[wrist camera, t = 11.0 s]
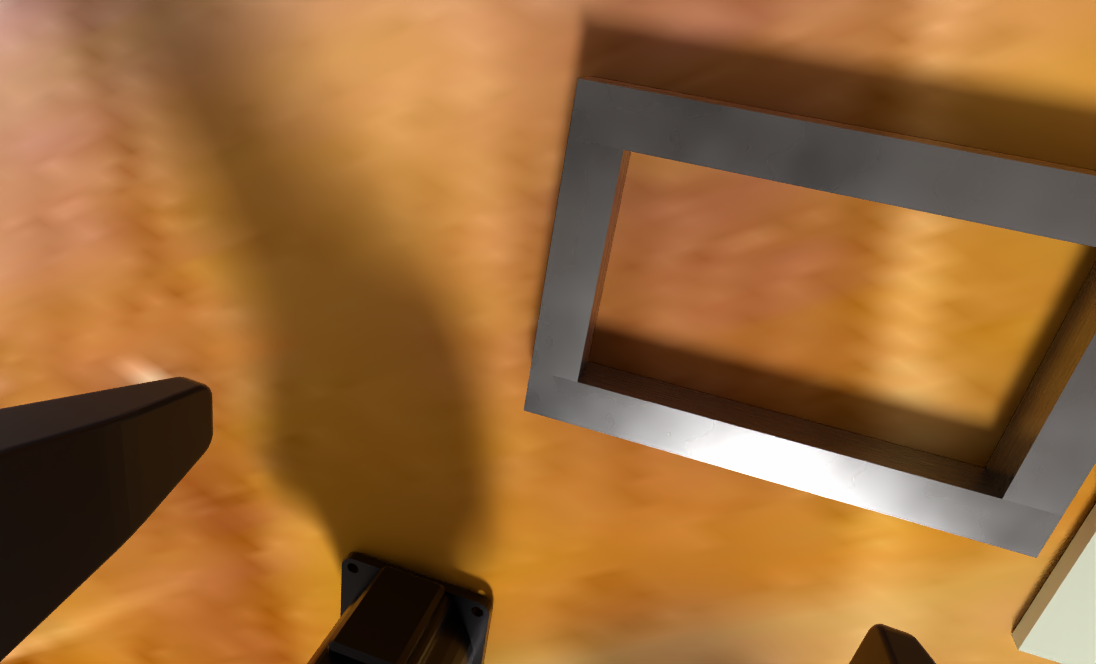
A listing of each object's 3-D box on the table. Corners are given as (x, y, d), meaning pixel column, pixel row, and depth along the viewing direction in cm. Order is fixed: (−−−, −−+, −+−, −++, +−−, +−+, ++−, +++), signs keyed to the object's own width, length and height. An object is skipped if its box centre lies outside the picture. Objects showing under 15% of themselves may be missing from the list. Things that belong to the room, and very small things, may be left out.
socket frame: (1017, 523, 20) (1036, 557, 18) (537, 388, 23) (524, 410, 21) (1211, 192, 16) (1254, 205, 14) (590, 76, 18) (577, 78, 17)
